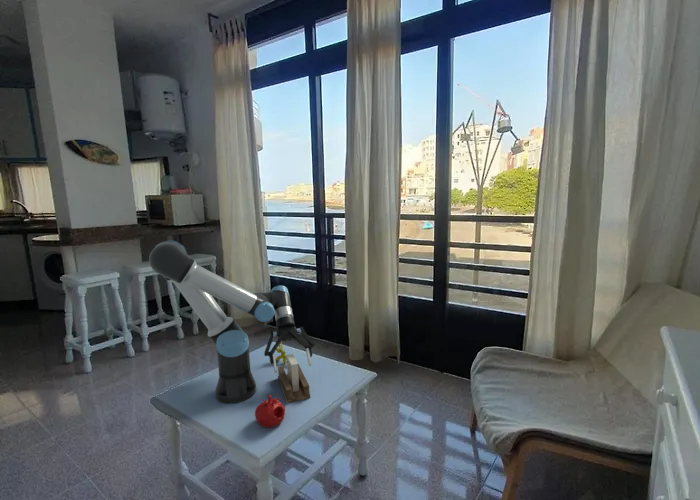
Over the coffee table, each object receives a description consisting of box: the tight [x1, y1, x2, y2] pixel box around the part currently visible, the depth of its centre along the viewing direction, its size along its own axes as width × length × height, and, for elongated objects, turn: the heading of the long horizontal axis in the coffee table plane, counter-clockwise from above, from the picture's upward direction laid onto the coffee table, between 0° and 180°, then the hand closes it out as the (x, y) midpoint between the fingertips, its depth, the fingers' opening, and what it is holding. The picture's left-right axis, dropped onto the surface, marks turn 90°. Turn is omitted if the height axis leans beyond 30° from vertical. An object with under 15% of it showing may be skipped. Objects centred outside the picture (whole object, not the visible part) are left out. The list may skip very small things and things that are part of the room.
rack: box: [277, 363, 311, 404], centre depth 139 cm, size 9×20×5 cm, turn 20°
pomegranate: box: [254, 394, 286, 428], centre depth 117 cm, size 10×10×9 cm
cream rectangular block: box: [285, 353, 299, 392], centre depth 139 cm, size 2×10×11 cm, turn 21°
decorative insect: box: [275, 342, 287, 365], centre depth 162 cm, size 13×3×10 cm
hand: (293, 368), depth 136 cm, fingers open, 13 cm apart
